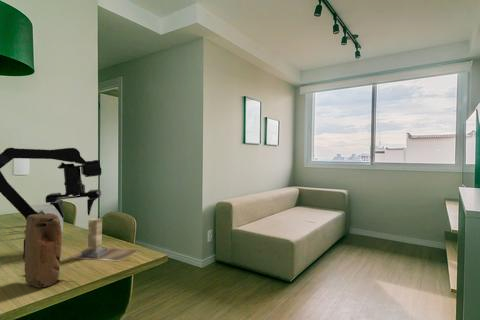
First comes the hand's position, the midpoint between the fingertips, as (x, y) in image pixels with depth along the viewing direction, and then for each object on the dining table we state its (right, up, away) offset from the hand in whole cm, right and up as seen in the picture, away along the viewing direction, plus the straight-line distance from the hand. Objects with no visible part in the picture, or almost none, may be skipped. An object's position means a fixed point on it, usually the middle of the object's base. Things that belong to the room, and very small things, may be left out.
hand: (76, 216), depth 112 cm
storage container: (-31, -12, +26) cm, 42 cm away
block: (+8, -13, -30) cm, 34 cm away
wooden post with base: (+14, -12, -12) cm, 21 cm away
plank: (+17, -13, -10) cm, 24 cm away
